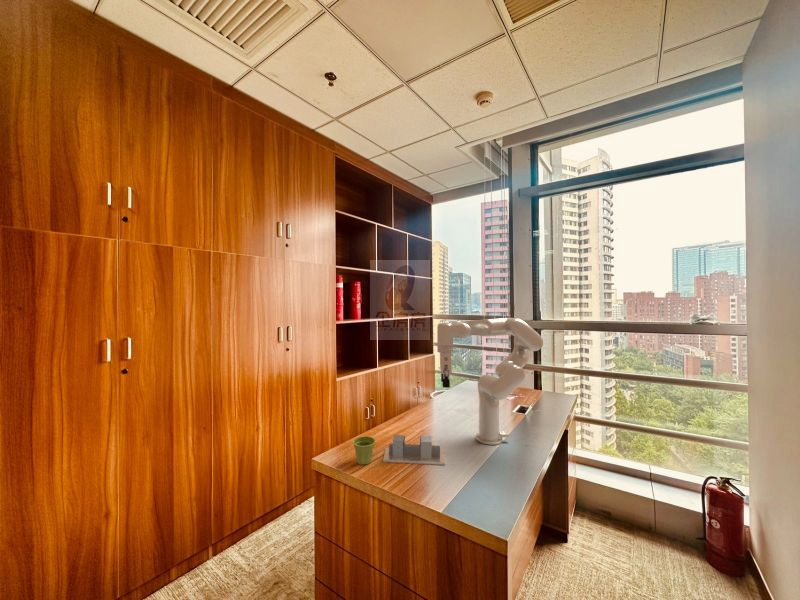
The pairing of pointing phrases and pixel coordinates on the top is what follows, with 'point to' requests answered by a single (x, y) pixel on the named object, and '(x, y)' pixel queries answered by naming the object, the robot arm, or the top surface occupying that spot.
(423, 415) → the top surface
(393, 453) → the rail
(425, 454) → the grey block
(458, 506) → the top surface
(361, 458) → the plant pot
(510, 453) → the top surface
